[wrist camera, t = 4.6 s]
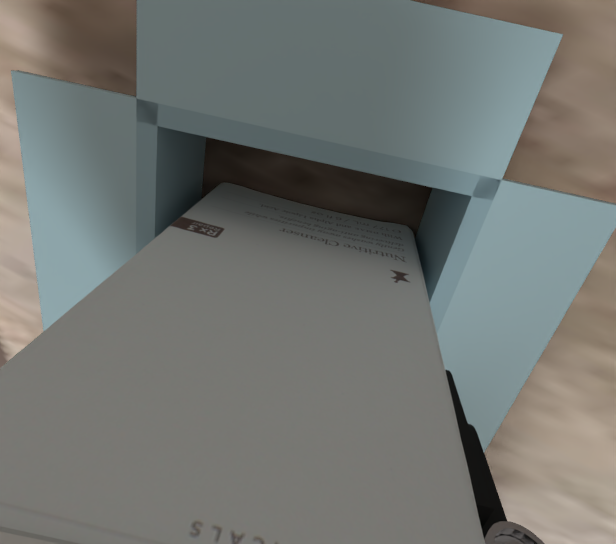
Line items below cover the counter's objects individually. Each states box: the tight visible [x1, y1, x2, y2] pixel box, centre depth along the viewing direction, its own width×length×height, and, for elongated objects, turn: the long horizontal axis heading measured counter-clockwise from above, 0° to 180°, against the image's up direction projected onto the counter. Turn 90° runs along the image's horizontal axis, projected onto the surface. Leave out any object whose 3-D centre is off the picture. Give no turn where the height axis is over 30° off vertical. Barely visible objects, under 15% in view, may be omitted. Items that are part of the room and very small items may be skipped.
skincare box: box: [0, 183, 485, 544], centre depth 11 cm, size 8×6×15 cm
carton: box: [11, 0, 616, 452], centre depth 16 cm, size 17×19×4 cm
